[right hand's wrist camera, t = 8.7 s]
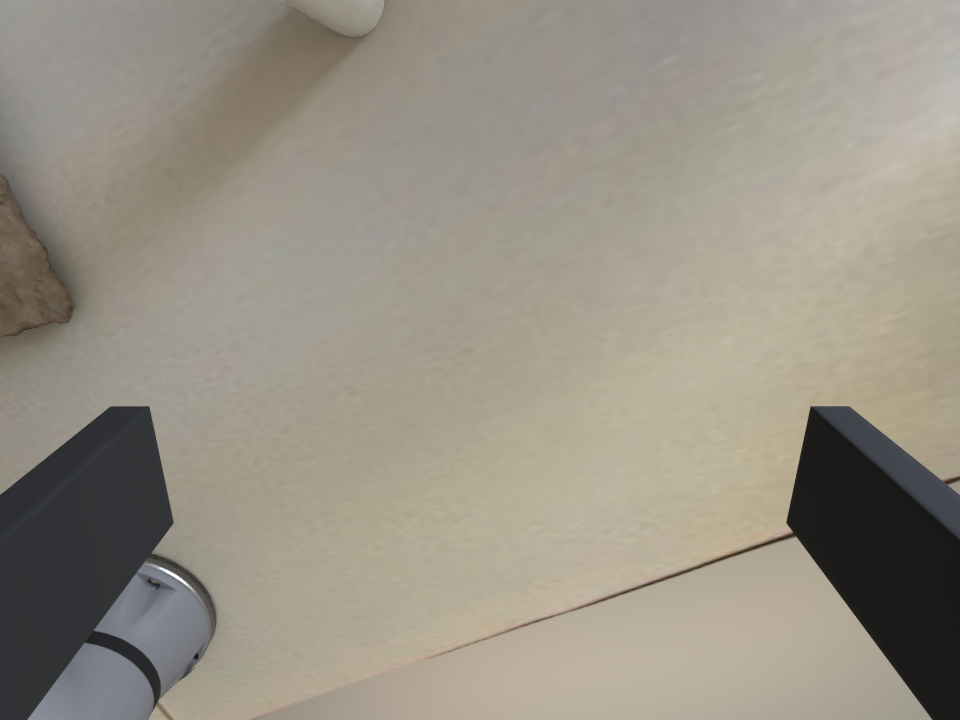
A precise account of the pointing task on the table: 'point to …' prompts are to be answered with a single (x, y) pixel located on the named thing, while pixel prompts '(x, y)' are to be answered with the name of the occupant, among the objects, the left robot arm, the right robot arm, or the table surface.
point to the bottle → (343, 14)
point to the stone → (26, 274)
